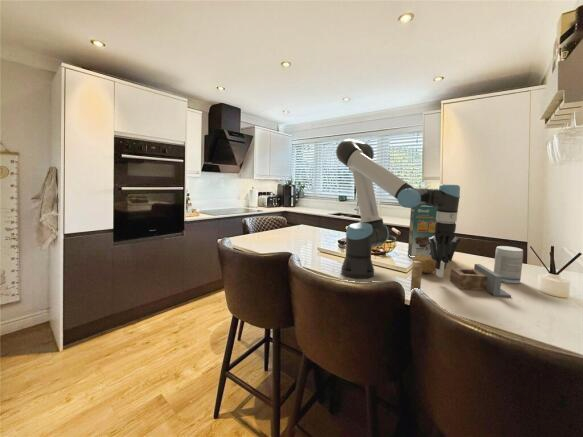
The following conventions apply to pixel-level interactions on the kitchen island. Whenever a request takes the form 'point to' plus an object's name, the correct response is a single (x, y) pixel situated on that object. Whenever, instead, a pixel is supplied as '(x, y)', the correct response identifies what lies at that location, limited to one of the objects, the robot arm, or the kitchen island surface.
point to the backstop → (492, 282)
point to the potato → (426, 263)
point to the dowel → (416, 274)
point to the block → (468, 279)
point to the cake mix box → (421, 230)
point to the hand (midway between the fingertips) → (439, 276)
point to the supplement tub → (508, 263)
